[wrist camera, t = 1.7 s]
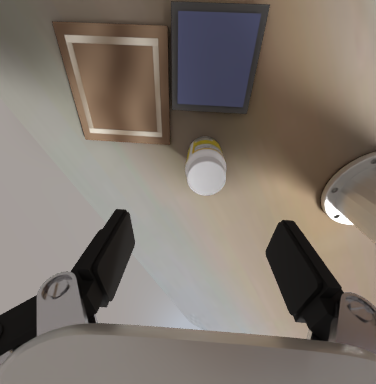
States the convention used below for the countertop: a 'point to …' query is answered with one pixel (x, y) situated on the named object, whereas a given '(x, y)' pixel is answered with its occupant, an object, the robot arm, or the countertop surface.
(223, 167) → the supplement bottle
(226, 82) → the ink pad
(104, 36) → the marked board
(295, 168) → the countertop surface
